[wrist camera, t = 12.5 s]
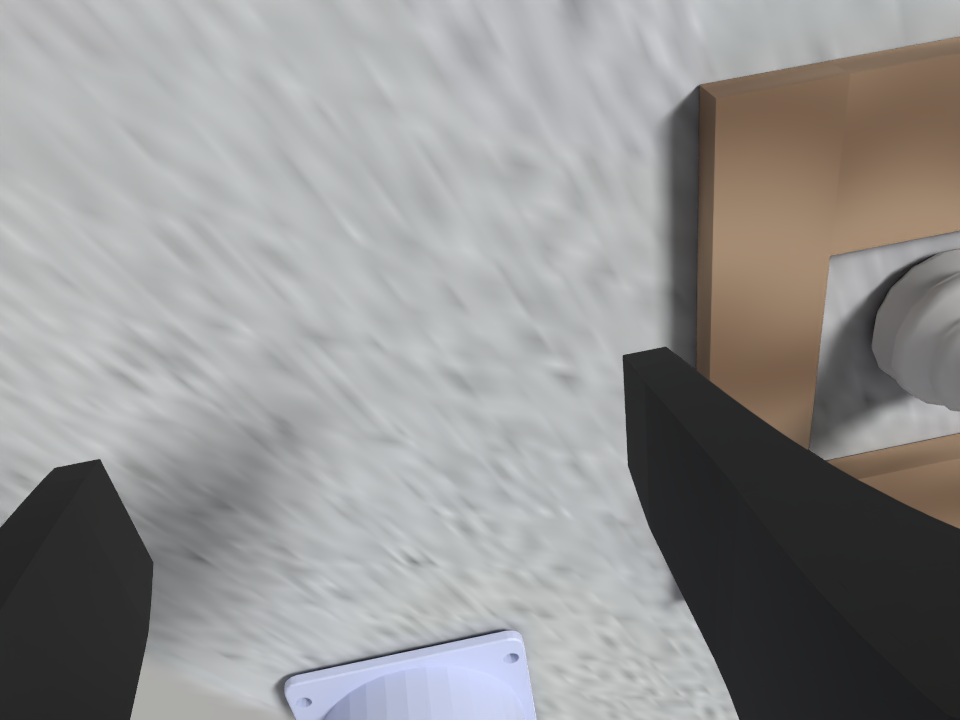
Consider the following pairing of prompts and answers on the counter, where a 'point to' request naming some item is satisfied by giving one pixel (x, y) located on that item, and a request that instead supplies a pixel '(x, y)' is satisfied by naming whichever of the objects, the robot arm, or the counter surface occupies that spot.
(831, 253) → the walnut socket board
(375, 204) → the counter surface
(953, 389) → the rook chess piece
